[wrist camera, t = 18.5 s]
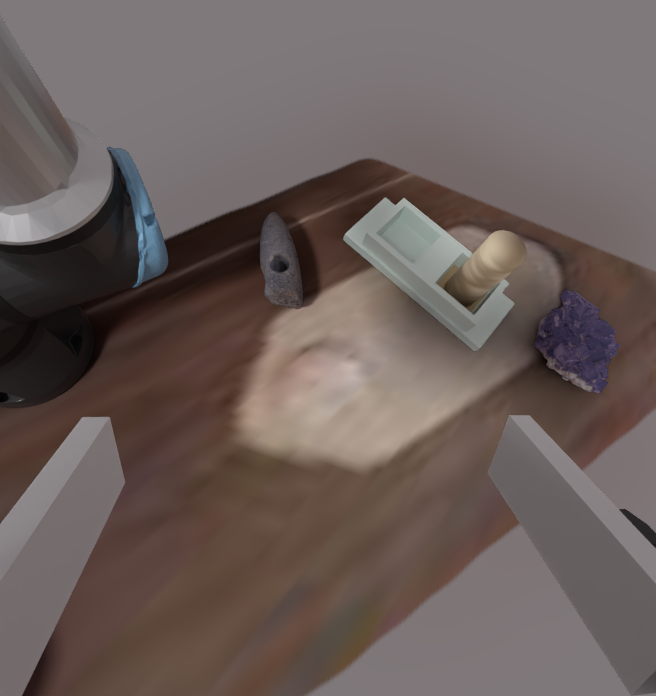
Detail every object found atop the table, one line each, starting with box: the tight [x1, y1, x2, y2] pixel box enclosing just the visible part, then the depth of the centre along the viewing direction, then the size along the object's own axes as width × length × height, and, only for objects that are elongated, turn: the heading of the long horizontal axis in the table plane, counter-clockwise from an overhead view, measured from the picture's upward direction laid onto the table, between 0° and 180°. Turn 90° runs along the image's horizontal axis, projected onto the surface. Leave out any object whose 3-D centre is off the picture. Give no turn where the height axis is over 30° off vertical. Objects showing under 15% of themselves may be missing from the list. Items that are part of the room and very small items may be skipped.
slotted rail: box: [343, 197, 515, 352], centre depth 55 cm, size 26×10×4 cm, turn 49°
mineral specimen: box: [535, 289, 620, 393], centre depth 55 cm, size 11×14×4 cm
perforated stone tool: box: [260, 212, 303, 309], centre depth 51 cm, size 15×5×7 cm, turn 10°
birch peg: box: [444, 230, 527, 308], centre depth 49 cm, size 5×5×12 cm
